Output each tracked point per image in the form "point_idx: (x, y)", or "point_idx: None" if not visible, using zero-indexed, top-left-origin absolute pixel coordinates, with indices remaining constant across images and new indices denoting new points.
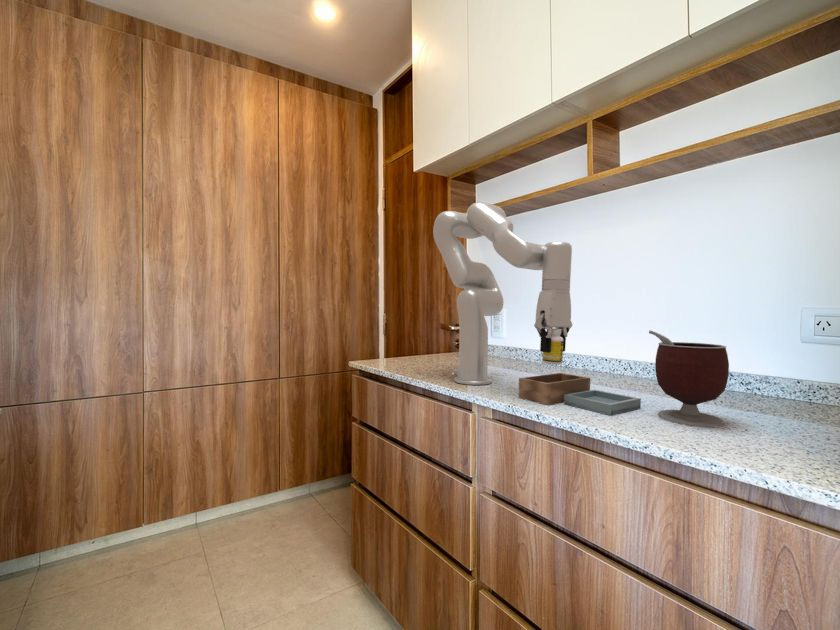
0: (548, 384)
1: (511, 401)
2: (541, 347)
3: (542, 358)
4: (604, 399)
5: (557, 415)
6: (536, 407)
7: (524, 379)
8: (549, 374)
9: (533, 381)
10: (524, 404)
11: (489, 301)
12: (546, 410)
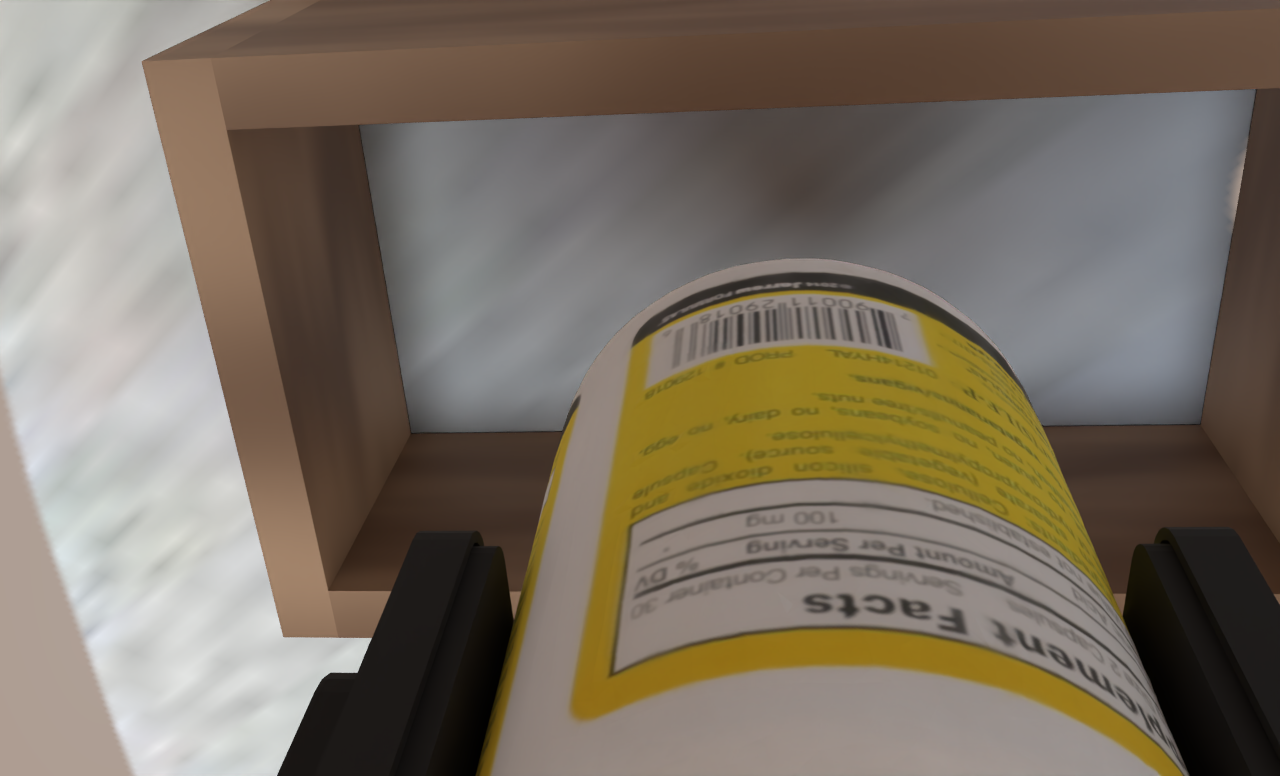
0: (290, 632)
1: (57, 113)
2: (328, 692)
3: (599, 378)
4: None
5: (187, 737)
6: (184, 471)
7: (176, 200)
8: (1078, 39)
9: (225, 388)
10: (133, 313)
11: None
12: (207, 594)
